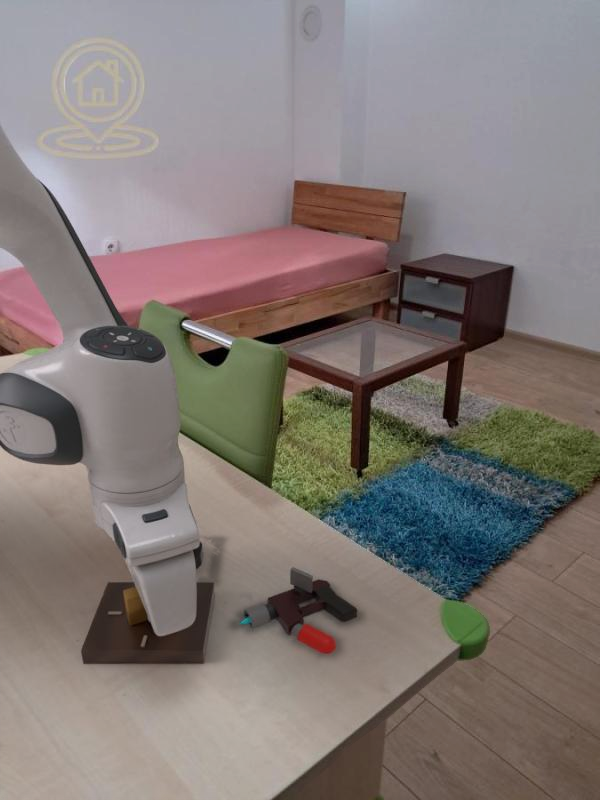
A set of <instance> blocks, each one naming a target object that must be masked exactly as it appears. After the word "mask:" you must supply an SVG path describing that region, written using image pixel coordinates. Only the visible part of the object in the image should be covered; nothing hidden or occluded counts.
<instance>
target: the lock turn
mask: <svg viewBox="0 0 600 800" xmlns="http://www.w3.org/2000/svg"><path fill="white" fill-rule="evenodd" d="M123 593H124V601H125V608H126V616H127V619H128V621H129V624H130V626H132V625H135V624H138V623H141V622H144V621H147V620H148V618H147V615H146V612H145V608H144V605H143V603H142V600H141V598H140V596H139V593H138V591H137V588H136V587H133V588H130V589H126V590H124V591H123Z"/></svg>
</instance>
